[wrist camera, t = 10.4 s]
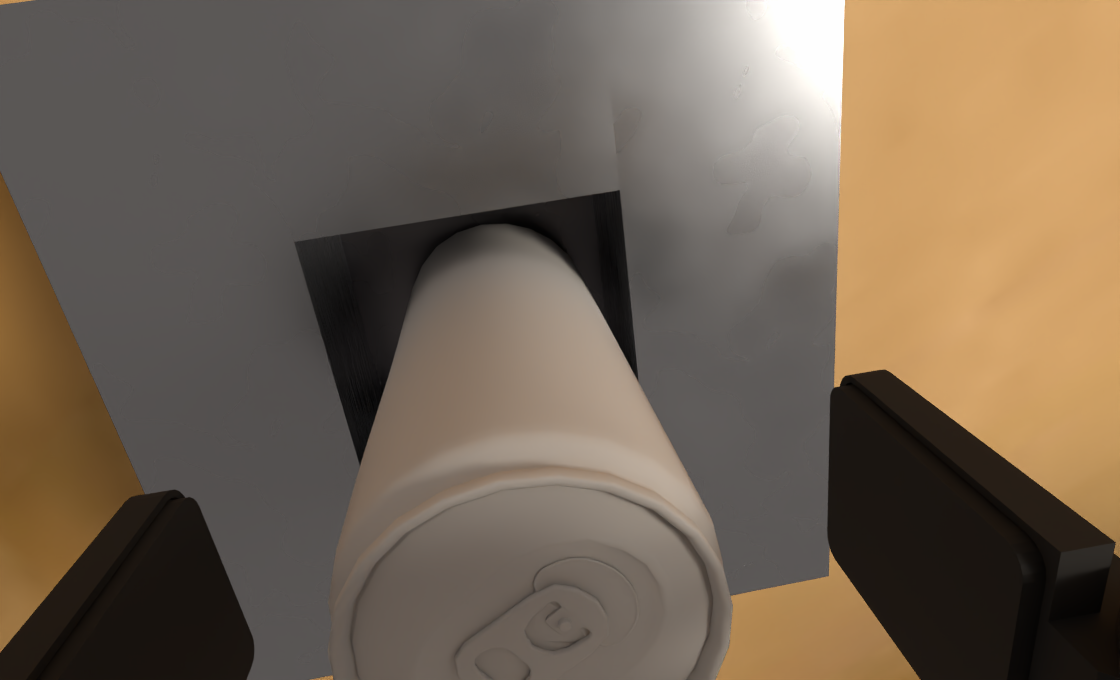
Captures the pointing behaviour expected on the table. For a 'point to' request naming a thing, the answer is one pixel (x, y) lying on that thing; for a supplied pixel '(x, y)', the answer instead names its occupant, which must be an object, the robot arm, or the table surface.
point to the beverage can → (521, 493)
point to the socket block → (429, 239)
